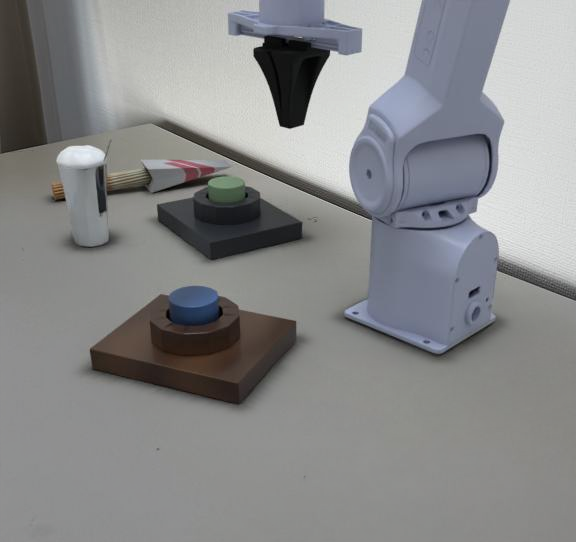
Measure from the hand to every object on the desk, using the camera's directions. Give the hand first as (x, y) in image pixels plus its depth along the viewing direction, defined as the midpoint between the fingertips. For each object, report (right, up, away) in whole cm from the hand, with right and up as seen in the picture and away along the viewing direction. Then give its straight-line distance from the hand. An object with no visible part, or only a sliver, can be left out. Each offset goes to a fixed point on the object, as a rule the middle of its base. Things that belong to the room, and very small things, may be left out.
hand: (291, 125), depth 81 cm
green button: (-6, -6, +4) cm, 10 cm away
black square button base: (-6, -9, +6) cm, 12 cm away
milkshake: (-19, -10, +3) cm, 22 cm away
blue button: (-7, -19, -17) cm, 27 cm away
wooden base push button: (-7, -22, -16) cm, 28 cm away
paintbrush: (-17, -2, +17) cm, 24 cm away
